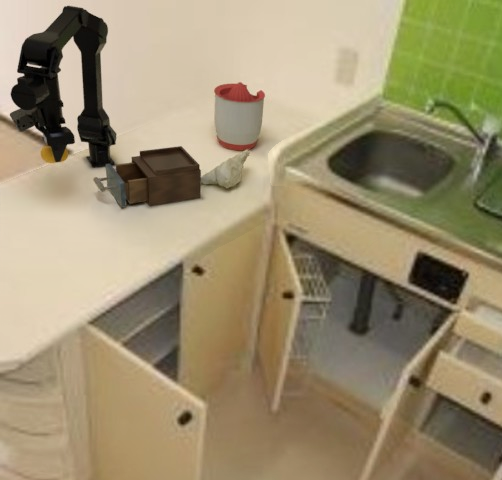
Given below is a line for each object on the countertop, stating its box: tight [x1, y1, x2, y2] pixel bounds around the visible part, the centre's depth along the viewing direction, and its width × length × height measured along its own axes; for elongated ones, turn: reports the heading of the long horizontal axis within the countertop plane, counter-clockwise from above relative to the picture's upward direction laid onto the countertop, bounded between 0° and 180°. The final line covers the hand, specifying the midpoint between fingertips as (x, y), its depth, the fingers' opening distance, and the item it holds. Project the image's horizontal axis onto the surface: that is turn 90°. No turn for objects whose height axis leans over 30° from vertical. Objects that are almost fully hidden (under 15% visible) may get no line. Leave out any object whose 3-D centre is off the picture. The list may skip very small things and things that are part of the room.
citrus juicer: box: [213, 81, 266, 152], centre depth 203 cm, size 16×17×20 cm
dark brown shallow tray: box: [139, 145, 200, 176], centre depth 172 cm, size 12×12×2 cm
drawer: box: [92, 161, 149, 208], centre depth 169 cm, size 18×12×7 cm, turn 122°
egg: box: [40, 144, 69, 164], centre depth 158 cm, size 6×4×4 cm
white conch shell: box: [201, 149, 251, 189], centre depth 184 cm, size 15×7×15 cm
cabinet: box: [131, 155, 202, 207], centre depth 174 cm, size 14×13×8 cm
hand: (55, 157), depth 159 cm, fingers closed on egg, 4 cm apart
